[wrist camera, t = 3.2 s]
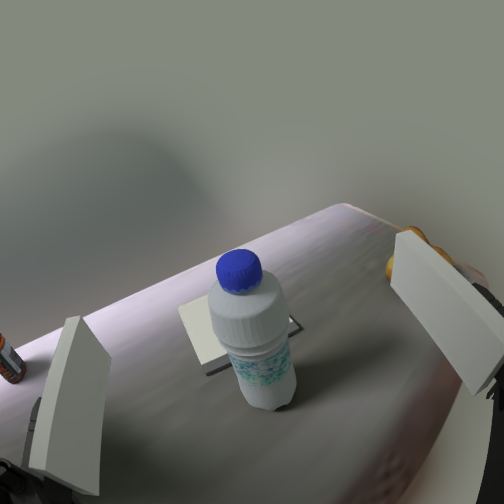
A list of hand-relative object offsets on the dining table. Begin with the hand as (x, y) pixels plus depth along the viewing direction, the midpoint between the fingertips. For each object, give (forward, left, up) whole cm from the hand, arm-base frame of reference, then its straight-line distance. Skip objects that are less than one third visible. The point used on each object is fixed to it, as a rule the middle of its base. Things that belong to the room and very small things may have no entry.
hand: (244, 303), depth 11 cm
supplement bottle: (-39, +31, -24) cm, 56 cm away
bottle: (+3, +9, -24) cm, 26 cm away
